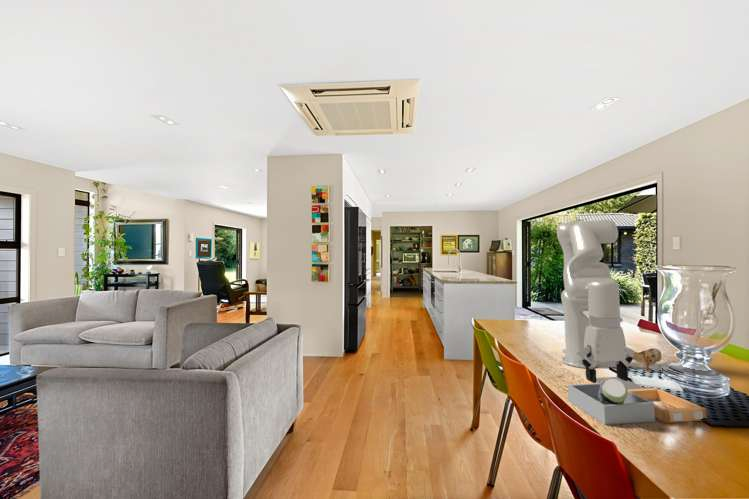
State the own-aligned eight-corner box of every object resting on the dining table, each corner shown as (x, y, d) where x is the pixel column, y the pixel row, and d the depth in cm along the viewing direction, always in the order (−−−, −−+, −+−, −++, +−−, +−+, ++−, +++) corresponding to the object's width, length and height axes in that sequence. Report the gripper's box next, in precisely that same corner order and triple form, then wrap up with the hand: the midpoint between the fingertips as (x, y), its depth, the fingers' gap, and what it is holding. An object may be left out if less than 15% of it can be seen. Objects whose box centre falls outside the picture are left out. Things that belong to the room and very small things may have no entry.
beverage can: (611, 386, 96) (612, 367, 89) (632, 409, 90) (634, 391, 83) (592, 395, 96) (591, 376, 90) (611, 418, 90) (612, 400, 84)
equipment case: (588, 382, 113) (588, 373, 113) (619, 380, 114) (619, 372, 114) (668, 423, 84) (667, 412, 85) (709, 421, 85) (708, 409, 85)
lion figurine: (664, 372, 121) (663, 348, 121) (660, 375, 118) (659, 351, 118) (618, 362, 133) (617, 340, 133) (613, 365, 130) (612, 343, 130)
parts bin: (568, 401, 99) (567, 384, 99) (611, 398, 100) (610, 382, 100) (605, 425, 85) (604, 406, 85) (655, 421, 86) (654, 403, 86)
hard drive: (634, 382, 109) (683, 389, 103) (630, 374, 116) (675, 380, 110) (634, 387, 109) (683, 394, 103) (630, 379, 116) (675, 385, 110)
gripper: (621, 318, 98) (623, 373, 97) (567, 320, 96) (570, 377, 96) (643, 323, 90) (646, 383, 90) (586, 326, 89) (588, 387, 89)
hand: (606, 380), depth 93 cm, fingers open, 9 cm apart
